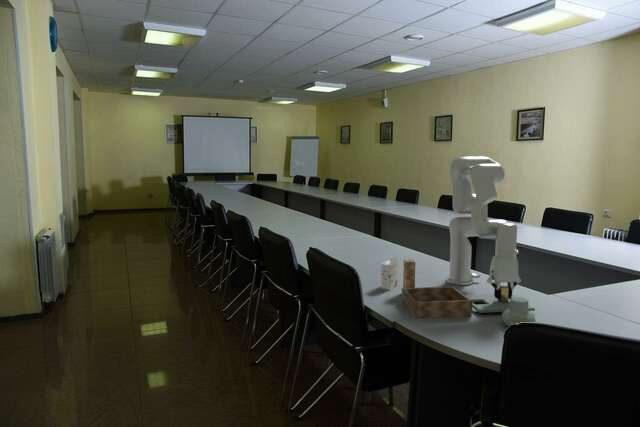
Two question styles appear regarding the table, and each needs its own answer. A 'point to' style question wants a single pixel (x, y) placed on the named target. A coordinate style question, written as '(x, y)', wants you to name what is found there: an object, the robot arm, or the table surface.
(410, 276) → the key peg
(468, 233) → the robot arm
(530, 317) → the air freshener
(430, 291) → the toolbox
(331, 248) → the table surface
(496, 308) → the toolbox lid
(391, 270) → the ink cartridge box
